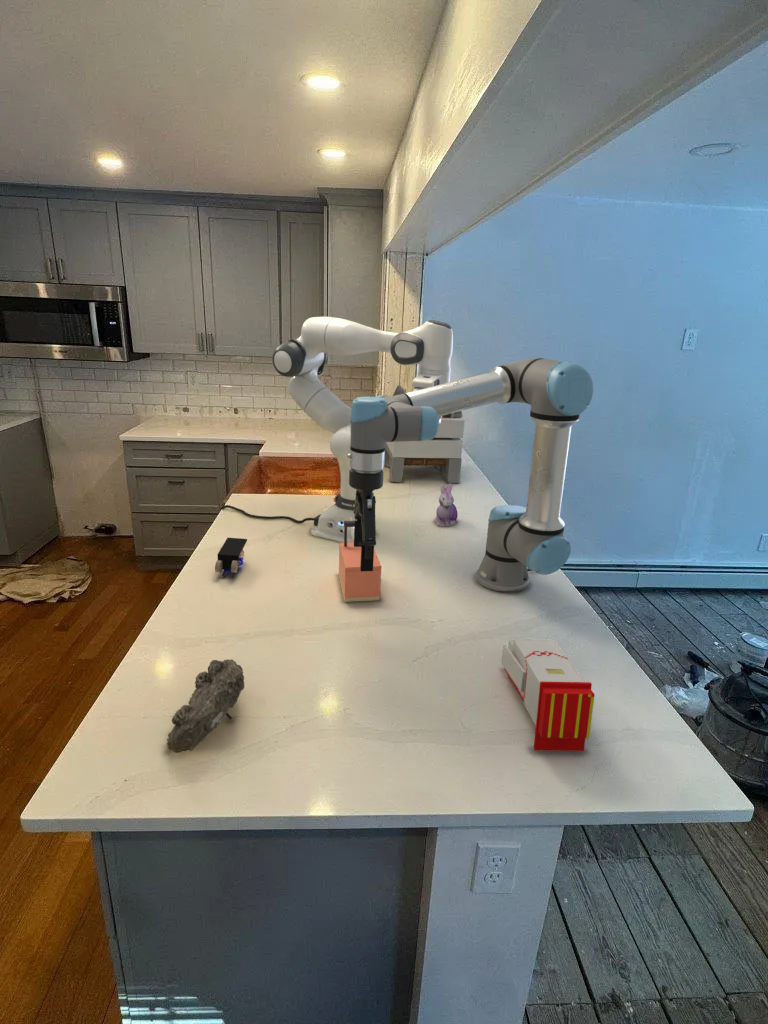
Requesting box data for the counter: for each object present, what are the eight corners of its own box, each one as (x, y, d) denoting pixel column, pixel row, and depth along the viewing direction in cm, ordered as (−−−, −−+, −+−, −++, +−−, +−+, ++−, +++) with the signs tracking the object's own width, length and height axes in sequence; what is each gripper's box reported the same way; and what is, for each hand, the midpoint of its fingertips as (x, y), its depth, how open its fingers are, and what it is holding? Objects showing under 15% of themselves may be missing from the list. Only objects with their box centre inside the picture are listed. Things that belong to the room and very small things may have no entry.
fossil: (192, 660, 117) (244, 628, 112) (224, 691, 120) (276, 661, 115) (142, 746, 98) (202, 712, 93) (182, 779, 101) (242, 748, 96)
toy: (549, 621, 128) (604, 690, 99) (544, 676, 131) (595, 758, 101) (496, 620, 128) (535, 688, 98) (492, 675, 130) (528, 757, 101)
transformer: (382, 463, 289) (386, 382, 275) (445, 464, 293) (451, 384, 279) (390, 482, 257) (394, 392, 243) (460, 483, 261) (468, 394, 247)
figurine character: (238, 584, 162) (249, 557, 175) (236, 562, 158) (247, 536, 172) (215, 584, 161) (227, 556, 175) (212, 561, 158) (225, 535, 171)
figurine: (442, 528, 206) (446, 489, 201) (428, 519, 214) (431, 481, 209) (464, 525, 210) (468, 486, 205) (449, 516, 218) (452, 479, 213)
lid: (338, 545, 165) (339, 517, 162) (371, 544, 167) (372, 516, 164) (345, 571, 149) (345, 540, 146) (381, 570, 151) (382, 539, 148)
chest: (338, 575, 167) (339, 547, 164) (370, 574, 169) (371, 546, 166) (344, 601, 152) (345, 571, 149) (379, 600, 154) (381, 570, 151)
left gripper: (439, 375, 175) (435, 419, 180) (409, 381, 158) (406, 430, 163) (458, 377, 173) (453, 422, 177) (430, 383, 156) (426, 433, 160)
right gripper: (344, 454, 135) (342, 537, 142) (355, 486, 112) (352, 582, 119) (375, 455, 136) (371, 537, 143) (393, 486, 113) (387, 581, 120)
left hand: (430, 426), depth 170 cm, fingers open, 8 cm apart
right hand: (362, 557), depth 131 cm, fingers open, 13 cm apart
